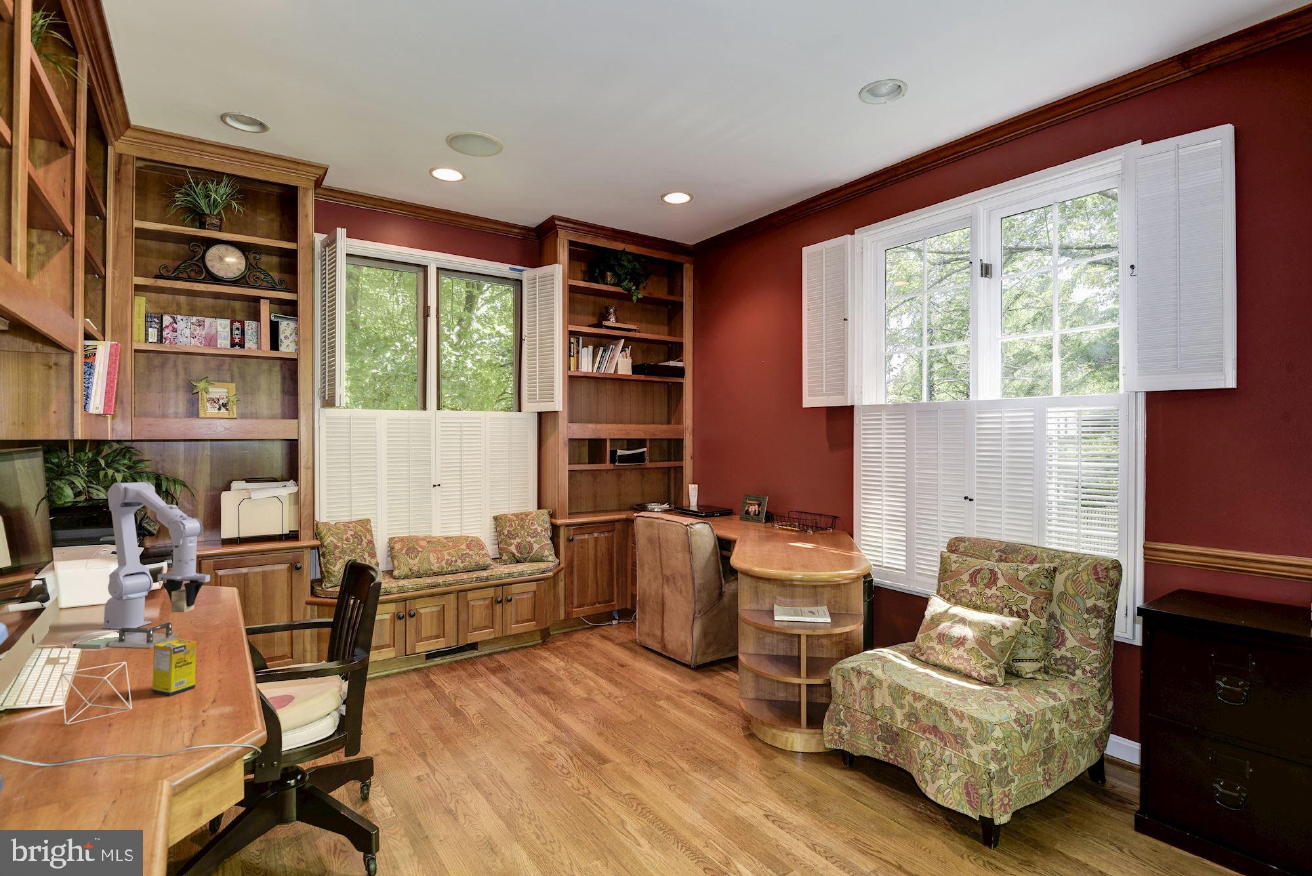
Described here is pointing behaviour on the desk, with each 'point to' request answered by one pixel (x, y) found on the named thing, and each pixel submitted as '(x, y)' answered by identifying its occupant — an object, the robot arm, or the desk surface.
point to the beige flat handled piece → (144, 637)
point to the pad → (100, 642)
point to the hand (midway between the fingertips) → (182, 605)
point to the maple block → (179, 601)
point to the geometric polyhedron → (94, 690)
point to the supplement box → (174, 666)
